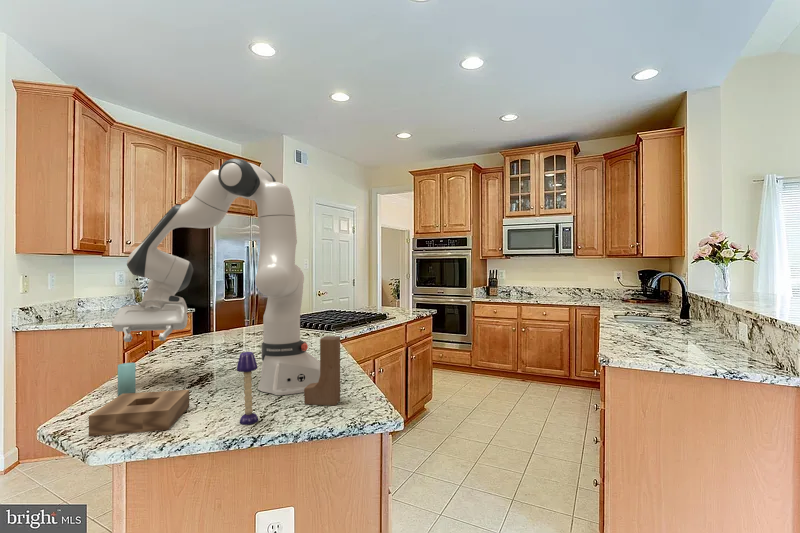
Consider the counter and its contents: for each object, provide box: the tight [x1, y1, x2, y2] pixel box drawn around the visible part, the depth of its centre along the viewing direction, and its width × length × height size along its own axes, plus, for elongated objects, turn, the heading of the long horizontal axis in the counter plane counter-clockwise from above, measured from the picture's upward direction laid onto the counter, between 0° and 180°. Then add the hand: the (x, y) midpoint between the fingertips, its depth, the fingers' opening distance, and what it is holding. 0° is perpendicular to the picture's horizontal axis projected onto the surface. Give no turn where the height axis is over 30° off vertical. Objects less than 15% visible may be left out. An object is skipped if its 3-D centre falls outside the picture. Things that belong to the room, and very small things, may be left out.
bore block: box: [88, 389, 190, 437], centre depth 98 cm, size 16×16×4 cm
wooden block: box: [303, 335, 341, 406], centre depth 110 cm, size 9×4×18 cm, turn 82°
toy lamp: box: [236, 351, 259, 426], centre depth 96 cm, size 5×5×17 cm
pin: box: [117, 362, 137, 397], centre depth 109 cm, size 4×4×11 cm
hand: (144, 340), depth 120 cm, fingers open, 8 cm apart
